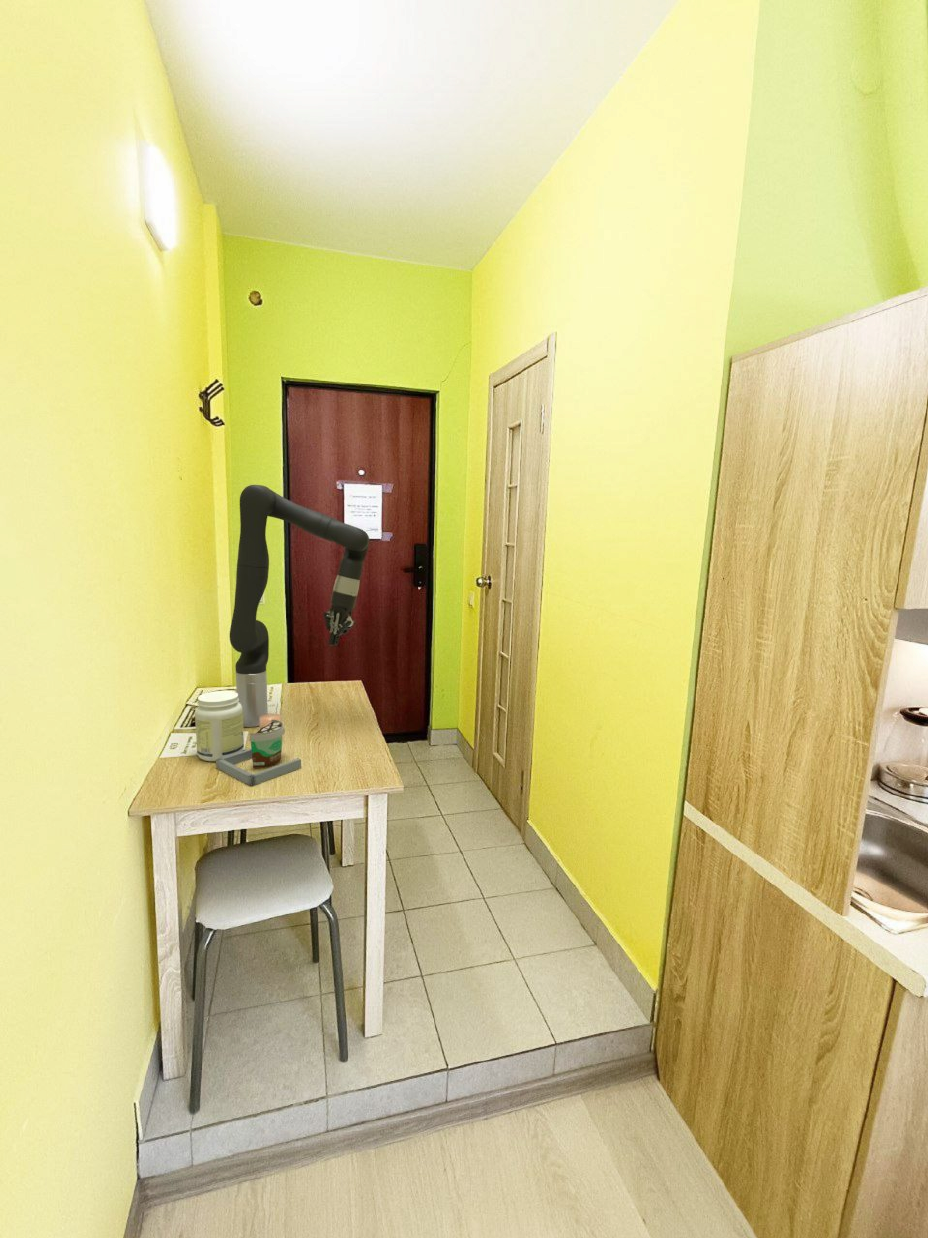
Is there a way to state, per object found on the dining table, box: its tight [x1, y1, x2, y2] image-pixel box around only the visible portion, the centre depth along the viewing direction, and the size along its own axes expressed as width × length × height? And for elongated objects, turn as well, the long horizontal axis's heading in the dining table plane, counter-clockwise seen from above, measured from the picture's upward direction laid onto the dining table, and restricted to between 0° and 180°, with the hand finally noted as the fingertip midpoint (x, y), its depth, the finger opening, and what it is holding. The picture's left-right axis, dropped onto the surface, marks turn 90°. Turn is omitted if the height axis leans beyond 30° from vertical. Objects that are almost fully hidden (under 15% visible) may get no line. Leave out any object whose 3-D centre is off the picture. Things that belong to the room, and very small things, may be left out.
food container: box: [248, 719, 286, 769], centre depth 158 cm, size 12×6×10 cm, turn 170°
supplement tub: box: [194, 690, 245, 762], centre depth 162 cm, size 12×12×17 cm
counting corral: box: [215, 748, 302, 787], centre depth 155 cm, size 16×15×2 cm
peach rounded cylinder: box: [259, 713, 282, 730], centre depth 172 cm, size 6×6×8 cm
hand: (332, 645), depth 182 cm, fingers closed
